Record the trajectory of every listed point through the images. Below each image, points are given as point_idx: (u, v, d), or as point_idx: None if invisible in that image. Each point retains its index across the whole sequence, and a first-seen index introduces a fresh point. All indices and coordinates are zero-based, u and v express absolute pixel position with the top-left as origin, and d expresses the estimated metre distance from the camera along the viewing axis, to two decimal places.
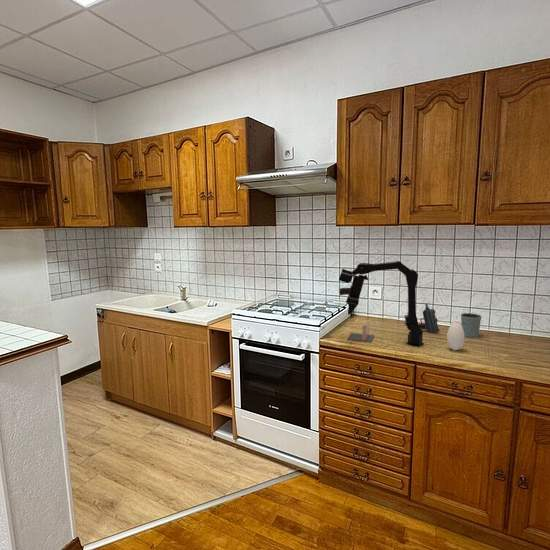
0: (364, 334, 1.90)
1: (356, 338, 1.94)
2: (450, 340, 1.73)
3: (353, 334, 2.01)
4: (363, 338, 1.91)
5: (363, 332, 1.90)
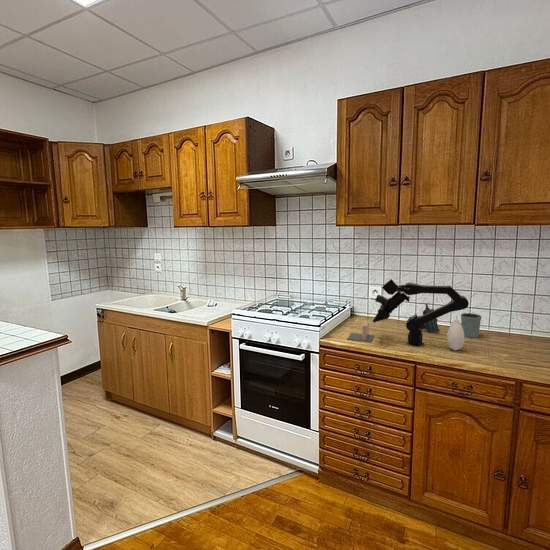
0: (364, 334, 1.90)
1: (356, 338, 1.94)
2: (450, 340, 1.73)
3: (353, 334, 2.01)
4: (363, 338, 1.91)
5: (363, 332, 1.90)
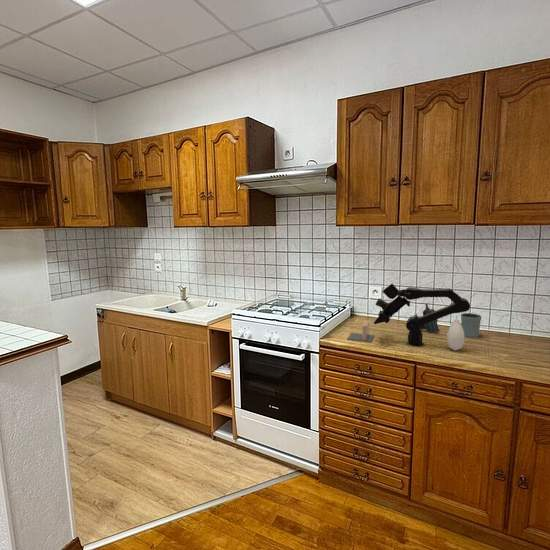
0: (364, 334, 1.90)
1: (356, 338, 1.94)
2: (450, 340, 1.73)
3: (353, 334, 2.01)
4: (363, 338, 1.91)
5: (363, 332, 1.90)
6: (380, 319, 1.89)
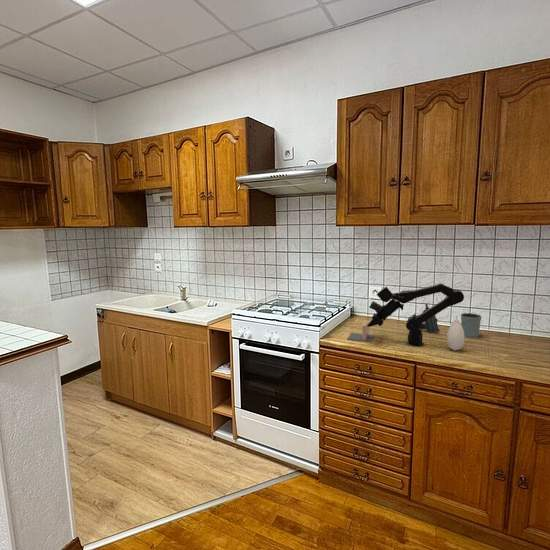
0: (364, 334, 1.90)
1: (356, 338, 1.94)
2: (450, 340, 1.73)
3: (353, 334, 2.01)
4: (363, 338, 1.91)
5: (363, 332, 1.90)
6: (374, 322, 1.91)
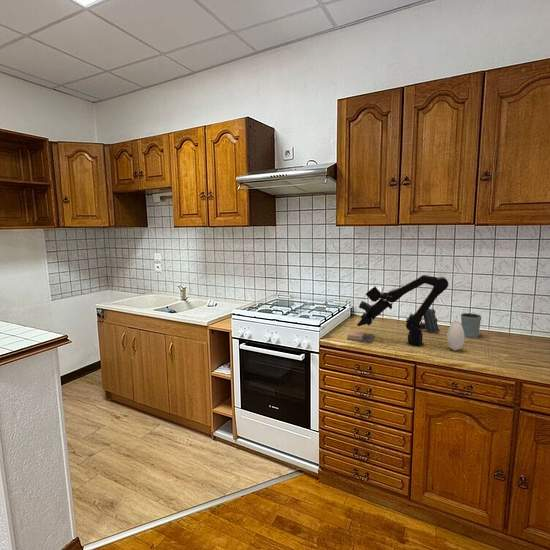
0: (356, 337, 1.92)
1: None
2: (450, 340, 1.73)
3: None
4: (360, 338, 1.91)
5: (354, 338, 1.93)
6: (363, 321, 1.93)
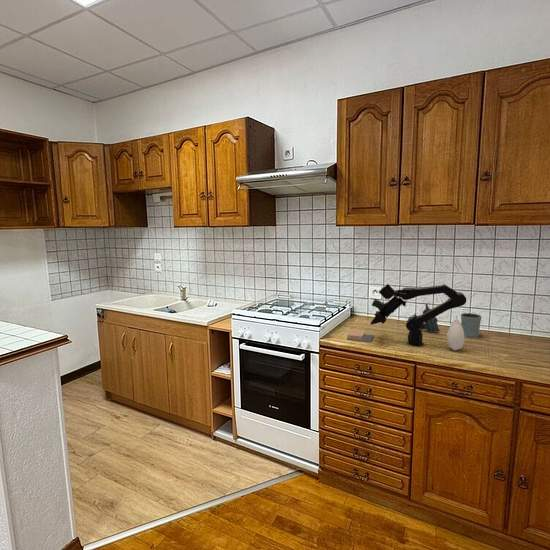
0: (356, 337, 1.92)
1: None
2: (450, 340, 1.73)
3: None
4: (360, 338, 1.91)
5: (354, 338, 1.93)
6: (376, 319, 1.90)
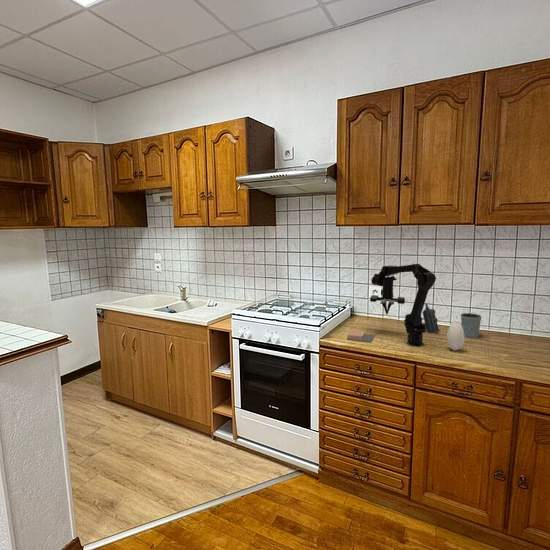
0: (356, 337, 1.92)
1: None
2: (450, 340, 1.73)
3: None
4: (360, 338, 1.91)
5: (354, 338, 1.93)
6: None
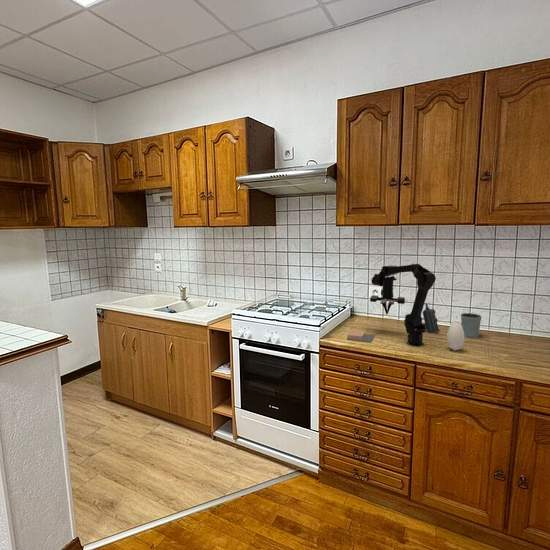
0: (356, 337, 1.92)
1: None
2: (450, 340, 1.73)
3: None
4: (360, 338, 1.91)
5: (354, 338, 1.93)
6: None
